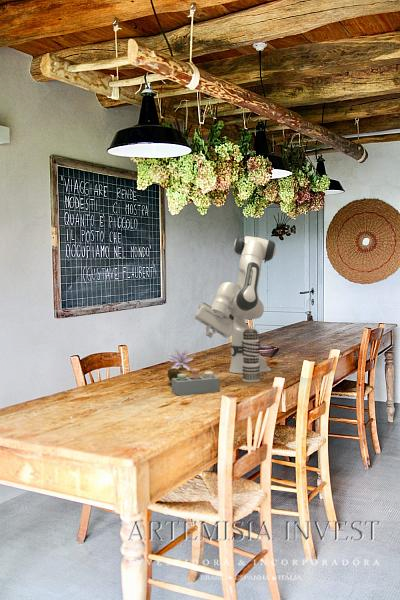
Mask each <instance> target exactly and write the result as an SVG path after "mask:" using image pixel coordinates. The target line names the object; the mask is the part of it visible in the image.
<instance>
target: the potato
mask: <svg viewBox="0 0 400 600" xmlns="http://www.w3.org/2000/svg"><path fill="white" fill-rule="evenodd" d="M171 368H172V367H171ZM171 368H170V369H168V371H167V377H168V380H169V381H170V382H172V378H178V374H183V373H182V371H181V370H180V369H179V368H178V369H176V368H172V369H171Z"/></svg>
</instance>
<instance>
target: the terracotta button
mask: <svg viewBox="0 0 400 600" xmlns="http://www.w3.org/2000/svg"><path fill="white" fill-rule="evenodd" d="M190 372H191V373H192V375H191V377H192V380H197V379H199V376H200V372H201V369H200V368H197V367H195V368H190Z"/></svg>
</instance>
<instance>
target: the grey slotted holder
mask: <svg viewBox="0 0 400 600" xmlns="http://www.w3.org/2000/svg"><path fill="white" fill-rule="evenodd" d="M220 379H221V378H220V377H218V376H216V375H214V374H213V375H212V378H208V379H206V375H199V379H197V380H192V376H187V377H186V378H185V381H179V378H172V381H171V392H172V393H173V394H175V395H177V396H187V395H196V394H197V395H198V394H208V393H218V392H220V391H221V380H220Z"/></svg>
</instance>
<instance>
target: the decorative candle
mask: <svg viewBox="0 0 400 600" xmlns="http://www.w3.org/2000/svg"><path fill="white" fill-rule="evenodd" d="M242 343H243V345H242V347H243V348H242V350H243V352H242V354H243V355H242V357H243V361H244V362H243V368H244V369H243V371H244V372H243V373H242V382H247V383H256V382H259V381H260V380H261V379H260V378H261V376H260V375H261V373H259V371H260V369H258V368H260V366H259V357H260V356H259V355H258V354H260V353H261V351H260V350H261V348H260V346H261V344H260V343H261V341H260V339H259V332H258V330H256V329H253V328H251V329H247V330H245V331H244V332H243V341H242ZM258 347H259V348H258Z"/></svg>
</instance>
